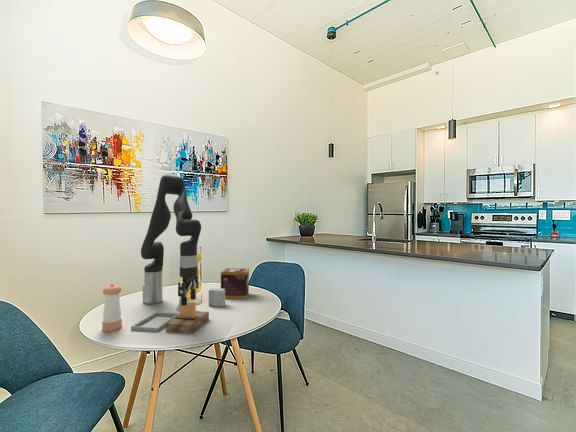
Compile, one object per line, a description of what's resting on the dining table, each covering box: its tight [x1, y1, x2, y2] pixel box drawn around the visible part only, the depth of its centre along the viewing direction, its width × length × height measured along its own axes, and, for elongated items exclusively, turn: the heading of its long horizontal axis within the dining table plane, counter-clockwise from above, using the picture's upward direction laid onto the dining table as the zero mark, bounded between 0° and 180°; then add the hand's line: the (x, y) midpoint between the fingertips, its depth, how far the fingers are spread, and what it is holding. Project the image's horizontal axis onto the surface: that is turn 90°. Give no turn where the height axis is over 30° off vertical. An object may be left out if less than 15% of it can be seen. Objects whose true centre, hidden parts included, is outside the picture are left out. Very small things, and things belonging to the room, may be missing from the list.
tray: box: [130, 311, 180, 333], centre depth 133 cm, size 12×18×2 cm, turn 172°
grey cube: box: [208, 287, 226, 307], centre depth 162 cm, size 8×4×9 cm, turn 84°
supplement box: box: [220, 268, 250, 299], centre depth 180 cm, size 10×15×16 cm
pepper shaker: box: [101, 283, 123, 332], centre depth 130 cm, size 7×7×19 cm
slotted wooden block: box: [165, 310, 210, 334], centre depth 131 cm, size 12×16×5 cm
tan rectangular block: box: [180, 301, 197, 318], centre depth 131 cm, size 6×2×10 cm, turn 82°
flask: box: [176, 291, 189, 313], centre depth 152 cm, size 7×7×10 cm
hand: (188, 302), depth 131 cm, fingers open, 8 cm apart
